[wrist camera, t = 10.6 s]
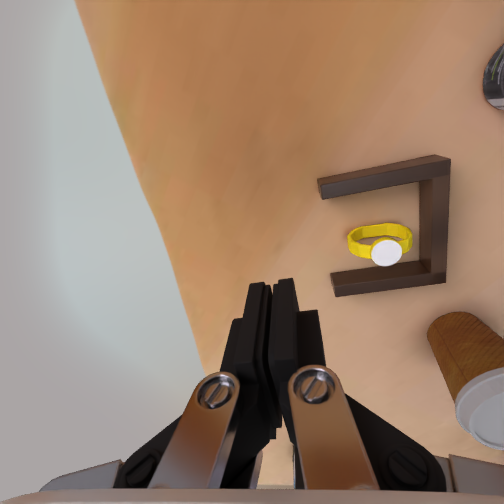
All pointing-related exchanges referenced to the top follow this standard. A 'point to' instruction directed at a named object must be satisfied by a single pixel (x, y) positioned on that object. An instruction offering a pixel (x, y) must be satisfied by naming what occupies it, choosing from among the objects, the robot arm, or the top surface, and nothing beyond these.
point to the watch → (381, 243)
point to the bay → (431, 223)
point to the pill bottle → (495, 79)
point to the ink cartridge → (297, 470)
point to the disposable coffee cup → (472, 373)
